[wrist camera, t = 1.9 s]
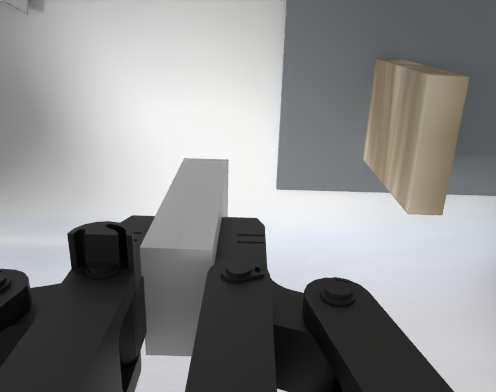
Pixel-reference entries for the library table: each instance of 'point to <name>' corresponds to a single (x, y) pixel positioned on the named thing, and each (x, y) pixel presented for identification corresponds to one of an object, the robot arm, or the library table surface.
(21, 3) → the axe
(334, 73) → the mat
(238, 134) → the library table surface
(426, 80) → the tile
